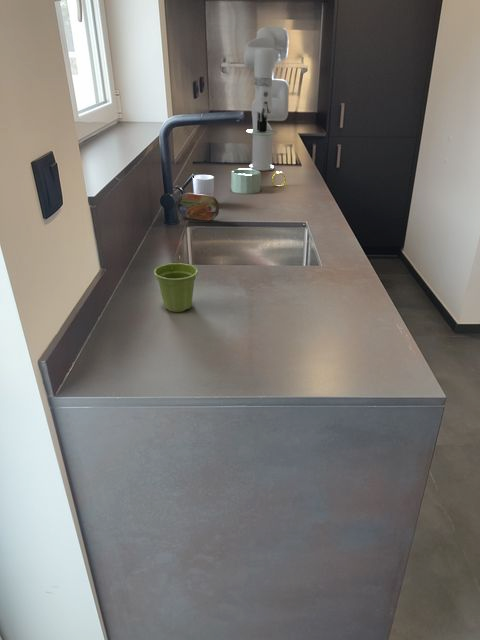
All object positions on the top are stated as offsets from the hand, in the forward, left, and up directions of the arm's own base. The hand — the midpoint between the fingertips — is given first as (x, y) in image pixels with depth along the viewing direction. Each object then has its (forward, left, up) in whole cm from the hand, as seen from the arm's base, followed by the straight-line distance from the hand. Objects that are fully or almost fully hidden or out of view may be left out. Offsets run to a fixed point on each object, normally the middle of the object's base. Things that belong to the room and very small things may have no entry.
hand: (261, 130), depth 215 cm
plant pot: (+122, -54, -21) cm, 135 cm away
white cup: (+37, -33, -21) cm, 54 cm away
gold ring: (+13, +4, -21) cm, 25 cm away
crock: (+18, -12, -21) cm, 30 cm away
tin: (+55, -38, -21) cm, 70 cm away
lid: (0, 0, -1) cm, 1 cm away
